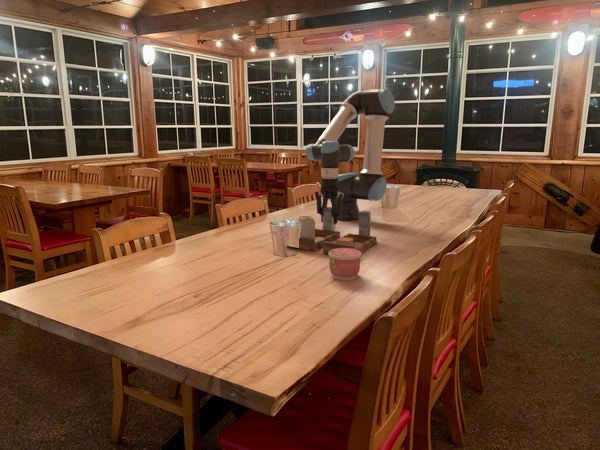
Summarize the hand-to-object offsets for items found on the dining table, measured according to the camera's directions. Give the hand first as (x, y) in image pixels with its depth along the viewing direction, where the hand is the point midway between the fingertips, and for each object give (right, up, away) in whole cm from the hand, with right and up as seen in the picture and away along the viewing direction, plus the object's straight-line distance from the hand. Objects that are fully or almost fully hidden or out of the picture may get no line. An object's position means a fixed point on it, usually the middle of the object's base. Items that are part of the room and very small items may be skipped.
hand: (329, 230), depth 193 cm
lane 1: (-6, -4, -10) cm, 12 cm away
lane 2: (+8, -6, -19) cm, 21 cm away
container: (+1, -14, -52) cm, 54 cm away
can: (-11, -6, -17) cm, 21 cm away
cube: (+5, -8, -25) cm, 26 cm away
